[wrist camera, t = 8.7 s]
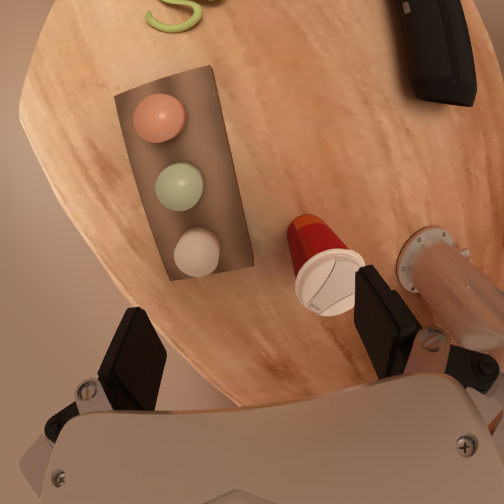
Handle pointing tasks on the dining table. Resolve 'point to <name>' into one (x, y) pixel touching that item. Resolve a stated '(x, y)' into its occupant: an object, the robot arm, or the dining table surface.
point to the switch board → (199, 153)
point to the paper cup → (322, 267)
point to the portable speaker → (438, 51)
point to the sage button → (180, 186)
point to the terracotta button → (160, 118)
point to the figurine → (180, 27)
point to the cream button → (197, 252)
